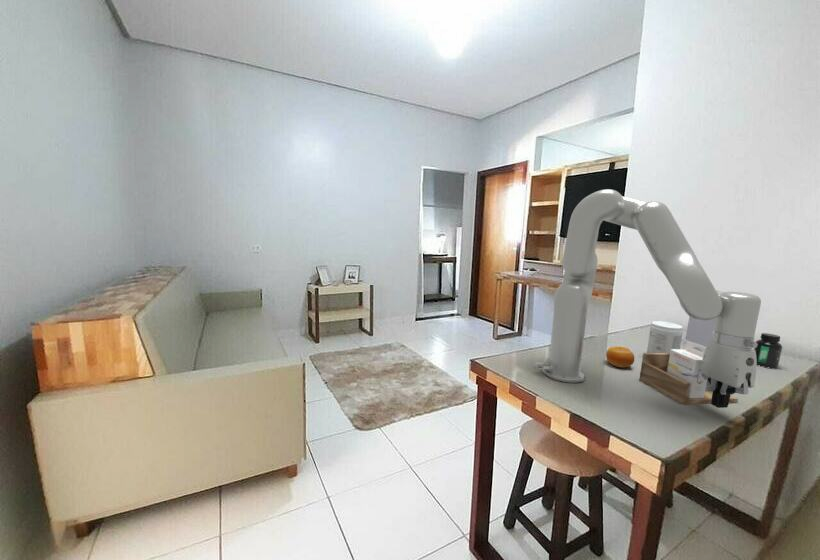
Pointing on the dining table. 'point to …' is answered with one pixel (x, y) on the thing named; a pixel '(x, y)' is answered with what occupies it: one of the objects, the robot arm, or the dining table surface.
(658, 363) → the wooden slotted rack
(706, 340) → the game console
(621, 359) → the fruit
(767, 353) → the supplement bottle
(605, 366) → the dining table surface
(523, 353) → the dining table surface
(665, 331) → the supplement tub
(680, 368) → the ink cartridge box
